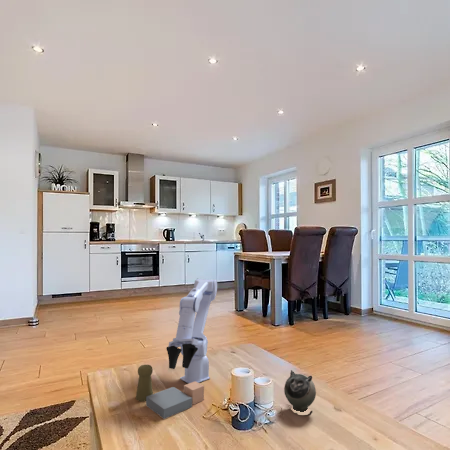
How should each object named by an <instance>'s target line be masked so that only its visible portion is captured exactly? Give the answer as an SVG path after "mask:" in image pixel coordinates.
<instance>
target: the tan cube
mask: <svg viewBox="0 0 450 450" xmlns="http://www.w3.org/2000/svg"><path fill="white" fill-rule="evenodd" d="M183 393H185V394H187V395H188V396H190V397H192V406H193V405H196V404H199V403H200V402H203V401H204V400H205V385H204V384H201V382H199V383H198V382H196V381H194V382H192V383H189V384H188V383H187V384H184V385H183Z"/></svg>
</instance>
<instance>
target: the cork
mask: <svg viewBox="0 0 450 450" xmlns="http://www.w3.org/2000/svg"><path fill="white" fill-rule="evenodd" d="M153 370H154V369H153V367H152V365H150V364H142V365H139V366H138V369H137V375H138V381H137V387H136V392H135V393H136V394H135V400H136V401H138V402H146V396H149V395H152V394H154V393H153V382H152V374H153Z"/></svg>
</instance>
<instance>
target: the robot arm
mask: <svg viewBox="0 0 450 450" xmlns="http://www.w3.org/2000/svg"><path fill="white" fill-rule="evenodd" d="M193 285H194V286H193V288H192V289H190V291H189V292H188V294H187V295H186V296H183V297H181V299H180V301H179V312H178V314H179V319H178V323H177V329H176V335H175V337H173V338H172V341H169V342H168V346H166V349H165V350H166V351H167V356H168V369H171V370H175V369H176V366H177V364H178V363H177V362H178V360H179V359H178V358H179V356H180V354H181V355H182V365H181V366H182V368H183V369H184V375H183V376H180V378H179V379H180V380H181V381H183V382H185V383H187V384H189V383H192V382H194V381H196V382H198V383H201V382H204V381H207V380H210V378H211V377H210V375H209V371H210V370H209V369H210V368H209V367H210V365H209V364H210V361H209V358H208V356H207V352H208V343H209V342H208V338H207V336H206V335H205V334H204V331H205V326H206V323H207V318H208V314H209V310H210V306H211V302H213V301H215V299H216V297H217V293H218V281H217V279H216V278H215V279H214V278H213V279H211V278H210V279H209V278H208V279H207V278H196V279H195V280H194V284H193Z"/></svg>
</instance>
